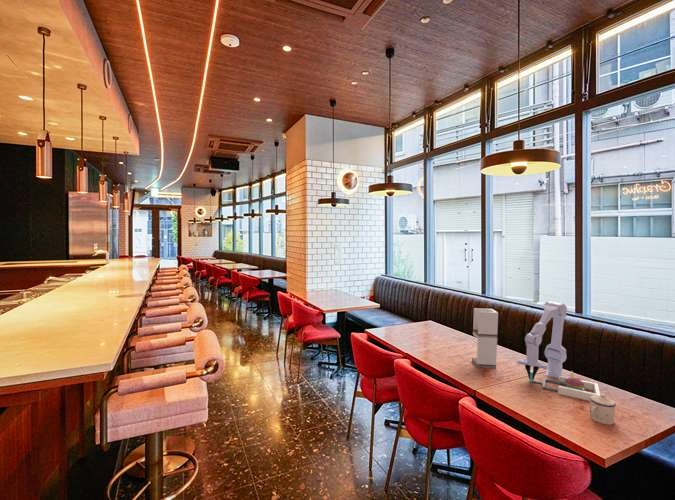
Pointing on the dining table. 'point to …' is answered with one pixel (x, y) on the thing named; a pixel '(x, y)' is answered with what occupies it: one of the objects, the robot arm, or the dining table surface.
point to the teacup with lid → (602, 409)
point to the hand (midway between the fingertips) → (531, 378)
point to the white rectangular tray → (578, 393)
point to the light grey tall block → (485, 337)
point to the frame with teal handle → (547, 381)
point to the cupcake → (574, 383)
